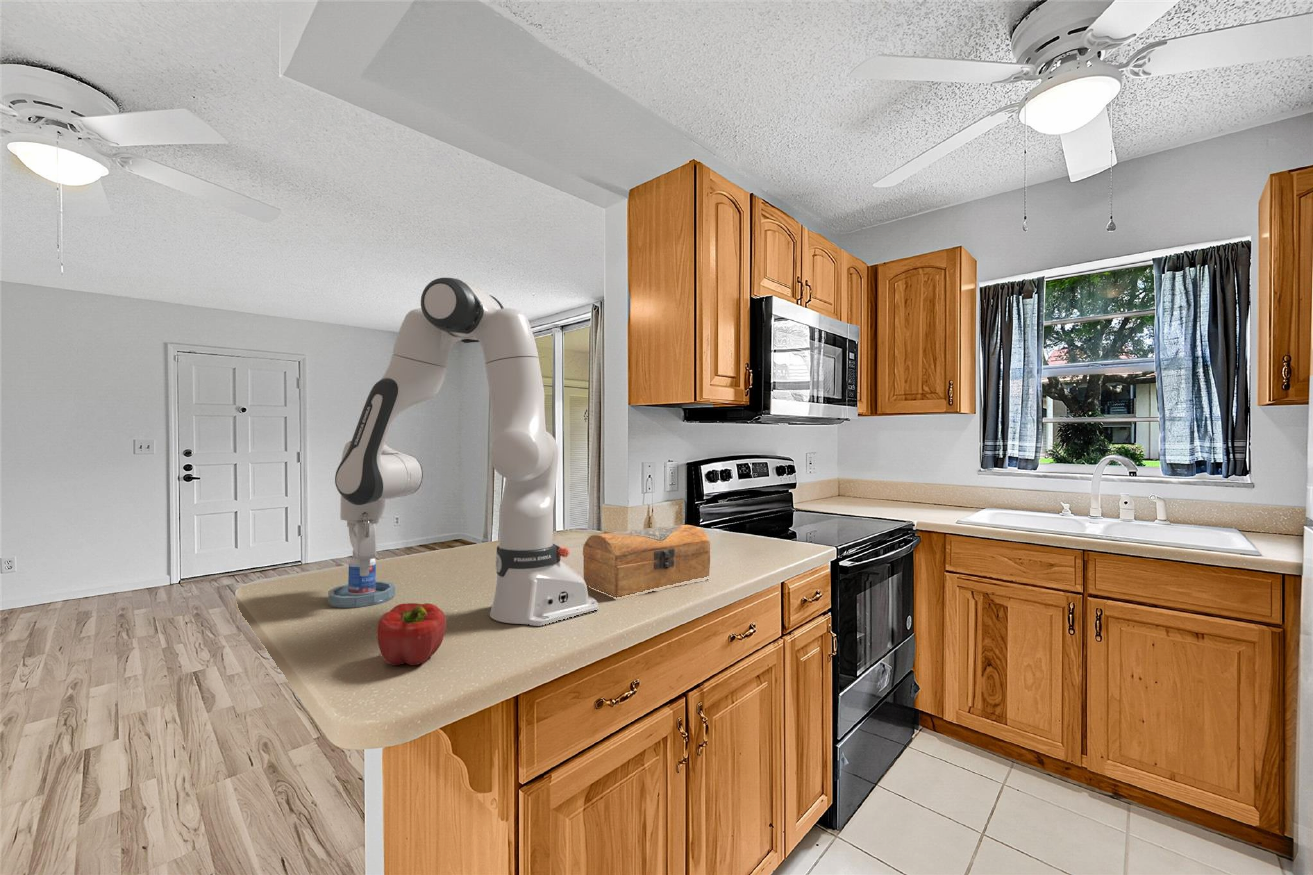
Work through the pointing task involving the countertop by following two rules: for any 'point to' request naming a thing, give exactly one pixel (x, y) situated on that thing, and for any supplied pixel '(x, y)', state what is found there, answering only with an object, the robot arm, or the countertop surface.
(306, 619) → the countertop surface
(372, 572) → the pill bottle
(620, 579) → the wooden box
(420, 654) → the vegetable
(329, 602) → the dish
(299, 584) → the countertop surface
